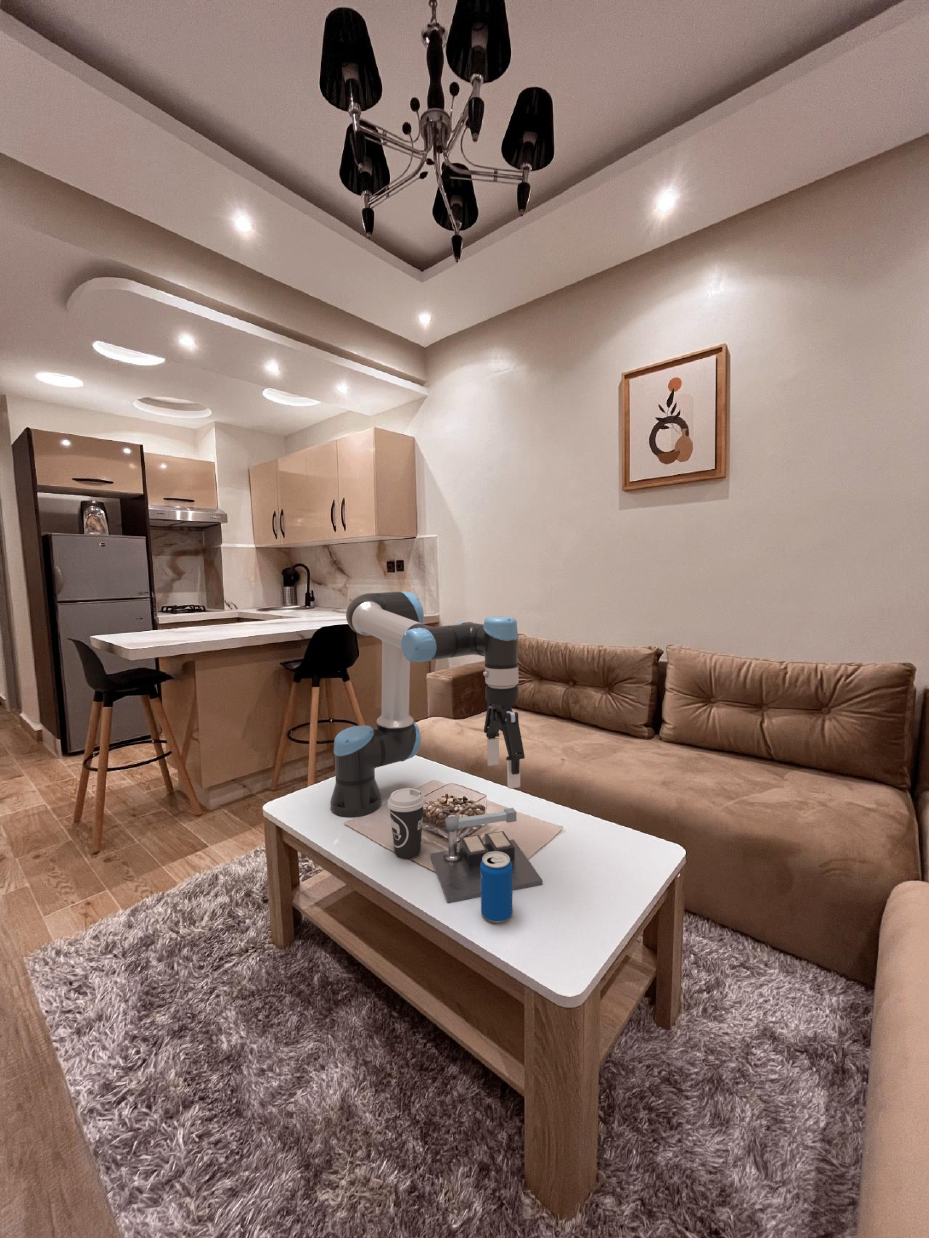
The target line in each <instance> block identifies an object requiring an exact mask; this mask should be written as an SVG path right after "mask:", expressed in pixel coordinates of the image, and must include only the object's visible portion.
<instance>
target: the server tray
mask: <svg viewBox="0 0 929 1238" xmlns="http://www.w3.org/2000/svg"><path fill="white" fill-rule="evenodd" d="M447 835H448V837H447V838H448V839H447V840H448V843H447V844H448V850H442V851H436V852H430V854H429V855H430V859H431V863H432V865H433V869H434V870H435V873H436V875H437V879H438V881H439V883H440V884H439V885H440V887H441V889H442V893H443V895H444V898H445V900H446V904H449V903H455V902H460V901H461V902H462V901H464V900H465V901H466V900H470V899H475V898H481V878H480V864H481V861H482V858H483V856H484V855H485V854H486V853H489V852H493V851H499V852H503V853H505V854H507V855H508V856H509V858H510V861H511V863H512V891H516V890H521V889H525V888H531V887H536V886H542V885H543V879H542V877H541V876H540V874H539V873H538V872H537V870H536V869H535V868H534V867H535V866H533V865H532V863H531V862H530V861H529V858H527V856H526V855H525V853H524V852H523V851H522V849H521V848H520V846H519V844H518V843H517V842H516V840H515V839H509V837H508V836H507V834H506V833H505V831H503V830H501V831H495V832H490V833H484V841H483V839H482V838H481V836H480V835H479V834H477V835H470V836H466V837H459V848H458V843H457V839H458V838H457V836H458V835H457V830H454V831H450V830H447Z"/></svg>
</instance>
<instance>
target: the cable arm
mask: <svg viewBox="0 0 929 1238" xmlns="http://www.w3.org/2000/svg"><path fill="white" fill-rule="evenodd" d="M500 822H506V823H507V824H509V823H514V822H517V811H516V810H515V808H514V807H509V808H504V809H503V811H496V812H489V813H483V814H475V815H470V816H469V815H468V816H464V817H457V816H455V815H451V816H448V817H446V818H445V829H446V830H447V831H448V830H450V831H454V830H456V831H457V830H458V829H462V828H469V827H473V826H480V825H481V826H482V825H488V824H494V823H500Z"/></svg>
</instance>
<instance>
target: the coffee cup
mask: <svg viewBox="0 0 929 1238" xmlns="http://www.w3.org/2000/svg"><path fill="white" fill-rule="evenodd" d="M386 804H387V808H388V809H389V815H390V816H389V817H390V822H391V823H390V825H391V830H392V831H391V832H392V839H393V841H392V842H393V847H394V850H393V851H394V855H395V857H396V858H398V859H401V860H411V859H414V858H417V857H418V856H419V855H420V854H421V851H422V837H423V819H424V818H423V817H424V807H425V805H426V798H425V796H424V795H423V793H422V791H421V790H419V789H416V788H411V787H410V788H409V787H407V788H399V789H397V790H394V791H393V792H391V793H390V796H389V798H388V799H387V803H386Z"/></svg>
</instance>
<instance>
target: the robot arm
mask: <svg viewBox="0 0 929 1238" xmlns="http://www.w3.org/2000/svg"><path fill="white" fill-rule="evenodd" d="M424 613H425V612H424V609H423V606H422V603H421V601H420V599H419V598H418V596H417V595H416V594H414V593H412V592H410V591H409V592H408V591H387V592H368V593H367V592H366V593H364V594H360V595H358V596H357V597H355V598H354V599H352V600H351V602H350V603H349V605H348V606H347V609H346V613H345V619H346V622H347V624H348V626H349V627H350V628H351V630H353V632H355V633H357V634H359V635H361V636H365V637H366V636H367V637H368V636H373V637H374V638H377V639H379V640H381V643H382V644H381V646H382V649H381V715H380V716H379V717H378V718H377V719H376V728H373V727H372V726H370V725H366V724H365V725H364V724H361V725H355V726H350V727H347V728H345V729H343V730H341V731H339V732H338V733H337V735H336V736H335V738H334V742H333V743H334V744H333V745H334V747H333V754H334V755H333V757H334V771H335V773H334V774H335V776H334V777H335V784H334V788H333V791H332V795H331V799H330V811H331V812H332V813H333V814H334V815H337V816H340V817H346V818H347V817H349V818H353V817H354V818H355V817H363V816H366V815H370V814H371V813H373V812H375V811H376V810H378V809H379V808H380V807H381V806H382V794H381V791H380V789H379V786H378V783H377V781H376V777H375V775H376V774H375V773H376V771H375V769H377V768H380V767H385V766H389V765H391V764H396V763H399V762H404V761H407V760H409V759H413V757H415V756H416V755H417V754H418V753H419V751H420V748H421V747H420V746H421V743H422V739H421V738H422V735H421V732H420V728H419V726H418V724H417V723H416V722H415V721H414V718H413V717H412V716H411V715H410V687H411V686H410V679H411V678H410V677H411V676H410V675H411V663H427V662H430V661H431V662H432V661H437V660H445V659H450V658H452V659H453V658H457V657H458V658H459V657H464V656H472V655H474V656H480V657H484V671H483V672H482V674H483V677H484V679H485V680H484V681H485V684H486V686H485V687H484V689H485V690H484V691H485V696H484V697H485V701H486V703H487V709H486V714H485V719H484V720H485V721H484V726H483V727H484V728H483V732H484V734H486V735H485V737H486V738H487V739H486V745H487V747H486V748H487V752H486V753H487V766H488V767H491V766H492V767H493V766H498V765H500V739H499V737H500V732H502V735H503V736H502V737H503V739H504V743H505V747H506V751H507V755H508V756H506V757H505V760H506V769H507V773H506V774H507V777H506V778H507V781H506V782H507V783H506V784H507V788H508V789H515V788H516V789H517V788H520V787H521V760H524V759H525V758H526V757H525V750H524V745H523V739H522V735H521V734H522V733H521V727H520V723H519V722H520V721H519V713H518V711H515V712H514V710H513V707H512V706H513V705H514V704H517V703H518V702H519V686H518V685H517V684H518V683H519V682H520V681H519V660H518V659H519V656H518V655H519V649H518V648H519V645H518V643H519V634H518V633H519V632H518V631H519V630H518V622H517V619H516V618H514V617H513V616H489V617H486V618H484V621H483V623H478V622H477V623H475V622H471V621H467V622H463V621H462V622H459V623H457V624H452V625H451V624H450V625H441V626H440V625H439V626H430V625H426V624H424V620H425V616H424Z"/></svg>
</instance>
